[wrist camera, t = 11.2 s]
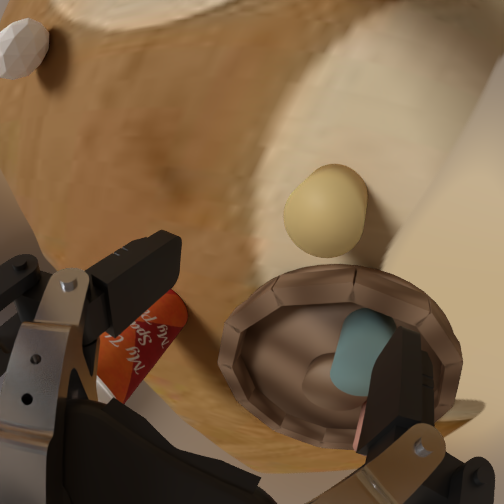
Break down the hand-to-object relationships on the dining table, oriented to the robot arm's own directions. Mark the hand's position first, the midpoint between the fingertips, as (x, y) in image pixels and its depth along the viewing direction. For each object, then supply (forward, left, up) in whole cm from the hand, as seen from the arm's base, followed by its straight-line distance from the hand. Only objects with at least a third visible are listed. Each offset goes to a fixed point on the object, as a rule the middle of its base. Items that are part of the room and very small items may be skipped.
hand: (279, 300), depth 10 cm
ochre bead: (0, 0, -12) cm, 12 cm away
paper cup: (+17, -13, -12) cm, 25 cm away
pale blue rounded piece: (+9, +6, -11) cm, 15 cm away
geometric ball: (-10, -36, -12) cm, 39 cm away
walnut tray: (+15, +6, -12) cm, 20 cm away
